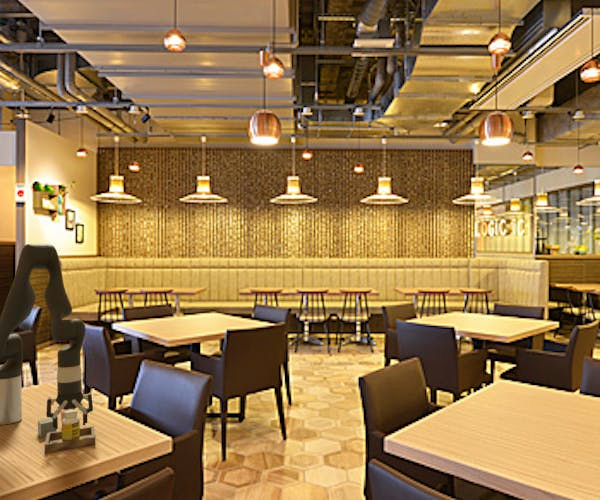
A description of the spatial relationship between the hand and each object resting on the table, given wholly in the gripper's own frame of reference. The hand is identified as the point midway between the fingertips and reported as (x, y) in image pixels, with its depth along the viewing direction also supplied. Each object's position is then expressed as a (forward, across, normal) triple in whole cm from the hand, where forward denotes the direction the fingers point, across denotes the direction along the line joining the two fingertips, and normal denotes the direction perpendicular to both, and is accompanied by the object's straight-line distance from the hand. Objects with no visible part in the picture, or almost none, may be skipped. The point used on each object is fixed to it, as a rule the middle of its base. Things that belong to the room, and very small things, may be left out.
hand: (70, 426), depth 171 cm
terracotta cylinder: (+6, +1, -18) cm, 19 cm away
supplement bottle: (+5, 0, 0) cm, 5 cm away
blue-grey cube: (+6, +8, -13) cm, 16 cm away
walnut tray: (+6, 0, 0) cm, 6 cm away
